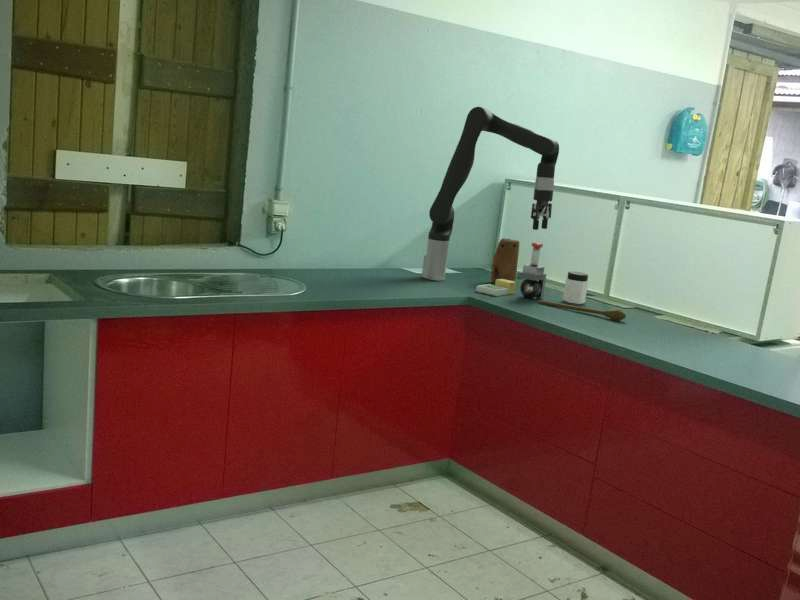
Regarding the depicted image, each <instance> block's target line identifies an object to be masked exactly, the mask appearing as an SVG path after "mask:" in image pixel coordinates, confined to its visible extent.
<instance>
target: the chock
mask: <svg viewBox="0 0 800 600" xmlns="http://www.w3.org/2000/svg"><path fill="white" fill-rule="evenodd" d="M494 285H496V286H500V287H504V288H509V293H508V295H511V294H512V295H513V294H516V285H517V281H515V282H514V281H510V280H506V279H496V282H495V283H494Z"/></svg>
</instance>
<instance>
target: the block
mask: <svg viewBox="0 0 800 600" xmlns="http://www.w3.org/2000/svg"><path fill="white" fill-rule="evenodd" d="M520 245H521V244H520V240H515V239H511V238H501V239H500V240H499V242H498V244H497V248H496V251H495V253H494V254H493V260H492V265H491V272H490V282H491V283H492V284H495V282H496V279H506V280H510V281H514V282H516V278H517V273H518V264H519V263H518V262H519V252H520Z"/></svg>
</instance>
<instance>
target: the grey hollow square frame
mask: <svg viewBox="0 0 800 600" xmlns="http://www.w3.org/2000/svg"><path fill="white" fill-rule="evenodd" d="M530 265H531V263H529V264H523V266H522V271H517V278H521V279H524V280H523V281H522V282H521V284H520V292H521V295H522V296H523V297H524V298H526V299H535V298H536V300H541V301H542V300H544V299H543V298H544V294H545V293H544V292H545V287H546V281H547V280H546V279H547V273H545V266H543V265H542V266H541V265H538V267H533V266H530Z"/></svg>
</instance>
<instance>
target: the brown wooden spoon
mask: <svg viewBox="0 0 800 600" xmlns="http://www.w3.org/2000/svg"><path fill="white" fill-rule="evenodd" d="M538 303H539V305H544V306H548V307H556V308H561V309H567V310H572V311H579V312H583V313H584V312H585V313H590V314H595V315H601V316H604V317H606V318H609V319H610V320H613V321H615V322H619V321H622V320H625V319H626V317H627V315H626V313H625V312H623V311H622V310H621V309H618V308H616V309H608V310H607V309H606V310H602V309H601V310H600V309H594V308H588V307H582V306H575V305H569V304H563V303H560V302H559V303H558V302H553V301H548V300H547V301H546V300H542V299H541V300H540V299H538V301H537V304H538Z"/></svg>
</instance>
